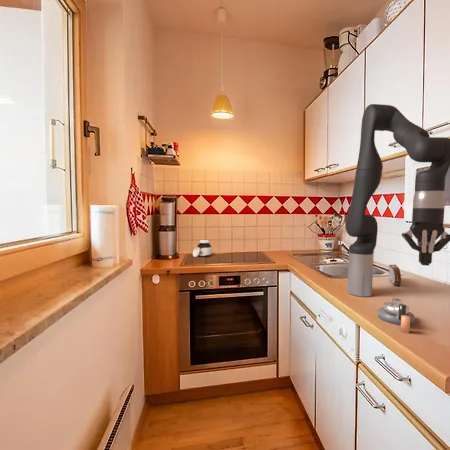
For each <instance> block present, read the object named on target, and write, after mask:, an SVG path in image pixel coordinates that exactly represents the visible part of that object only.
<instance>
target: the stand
mask: <svg viewBox="0 0 450 450" xmlns="http://www.w3.org/2000/svg"><path fill="white" fill-rule="evenodd" d="M377 311H378V312H377V318H379V319H380V320H381V321H384V322H387V323H389V324H393V325H396V326H397V325H399V326H400V332H402V333H403V334H410V332H411V331H410V330H411V329H410V328H411V326H412V325H414V324H415V314H414V313H412V312H411V311H409V315H401V320H399V319H398V318H397V317H396V316H395V315H393V314H389V313H387V312H385V311H384V306H383V307H379V308H378V310H377Z"/></svg>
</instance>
